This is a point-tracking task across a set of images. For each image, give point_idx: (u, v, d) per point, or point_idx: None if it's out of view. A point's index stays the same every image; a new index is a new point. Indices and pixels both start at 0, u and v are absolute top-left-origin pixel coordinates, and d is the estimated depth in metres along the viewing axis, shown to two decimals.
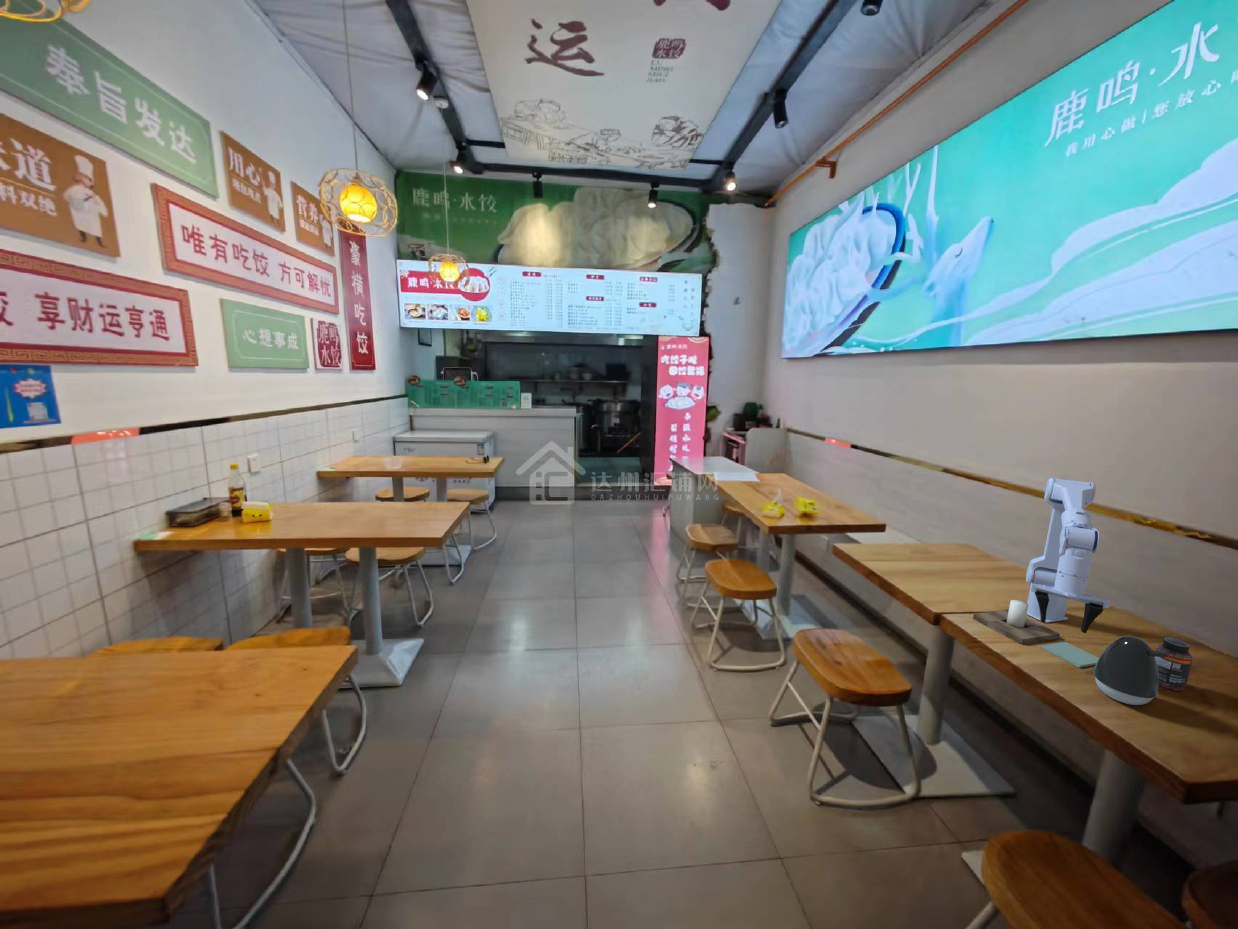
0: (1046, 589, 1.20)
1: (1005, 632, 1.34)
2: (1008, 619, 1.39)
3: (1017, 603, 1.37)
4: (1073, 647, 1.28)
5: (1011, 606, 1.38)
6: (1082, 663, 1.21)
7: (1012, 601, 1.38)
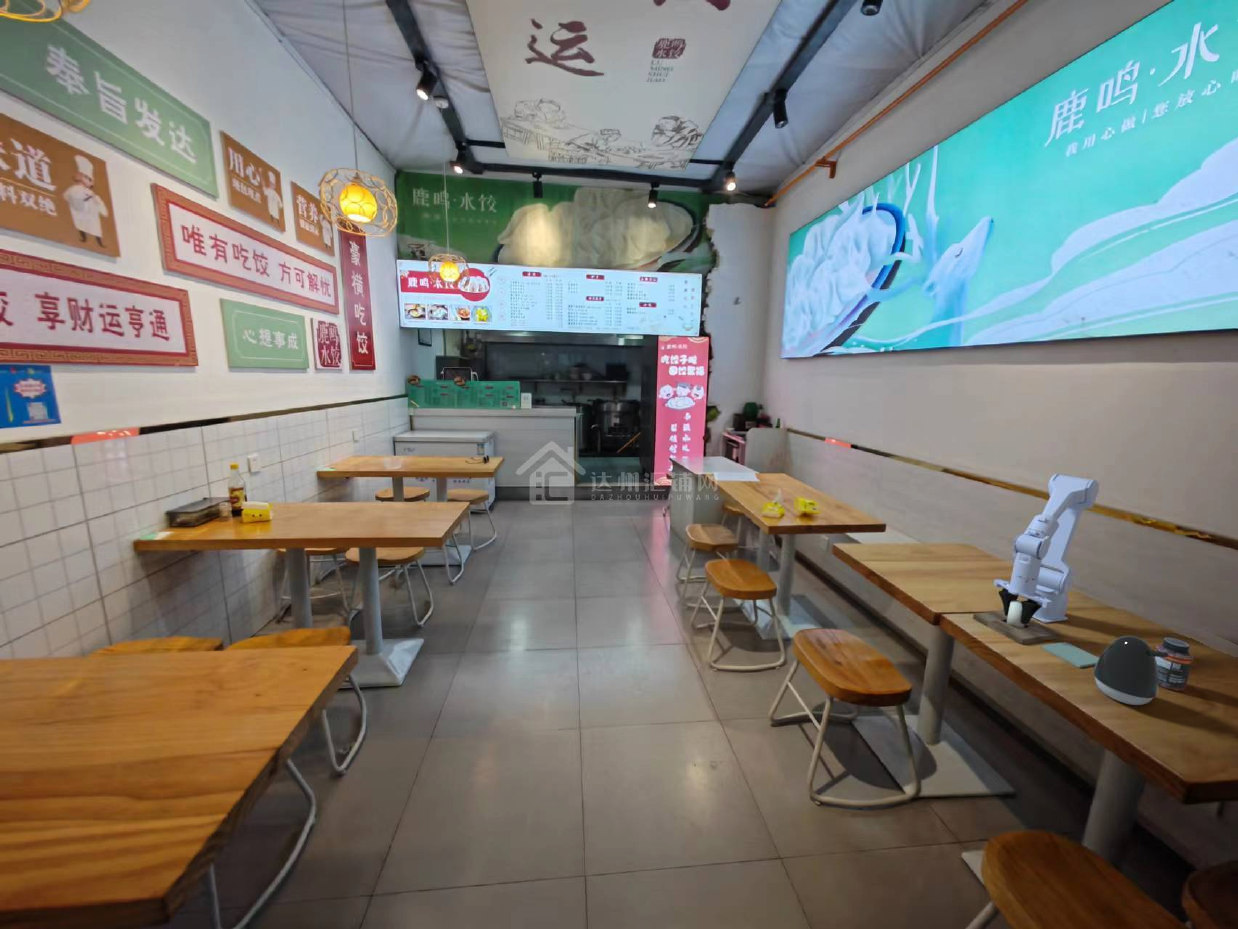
0: (1002, 585, 1.40)
1: (1005, 632, 1.34)
2: (1008, 619, 1.39)
3: (1017, 603, 1.37)
4: (1073, 647, 1.28)
5: (1010, 606, 1.38)
6: (1082, 663, 1.21)
7: (1012, 601, 1.38)
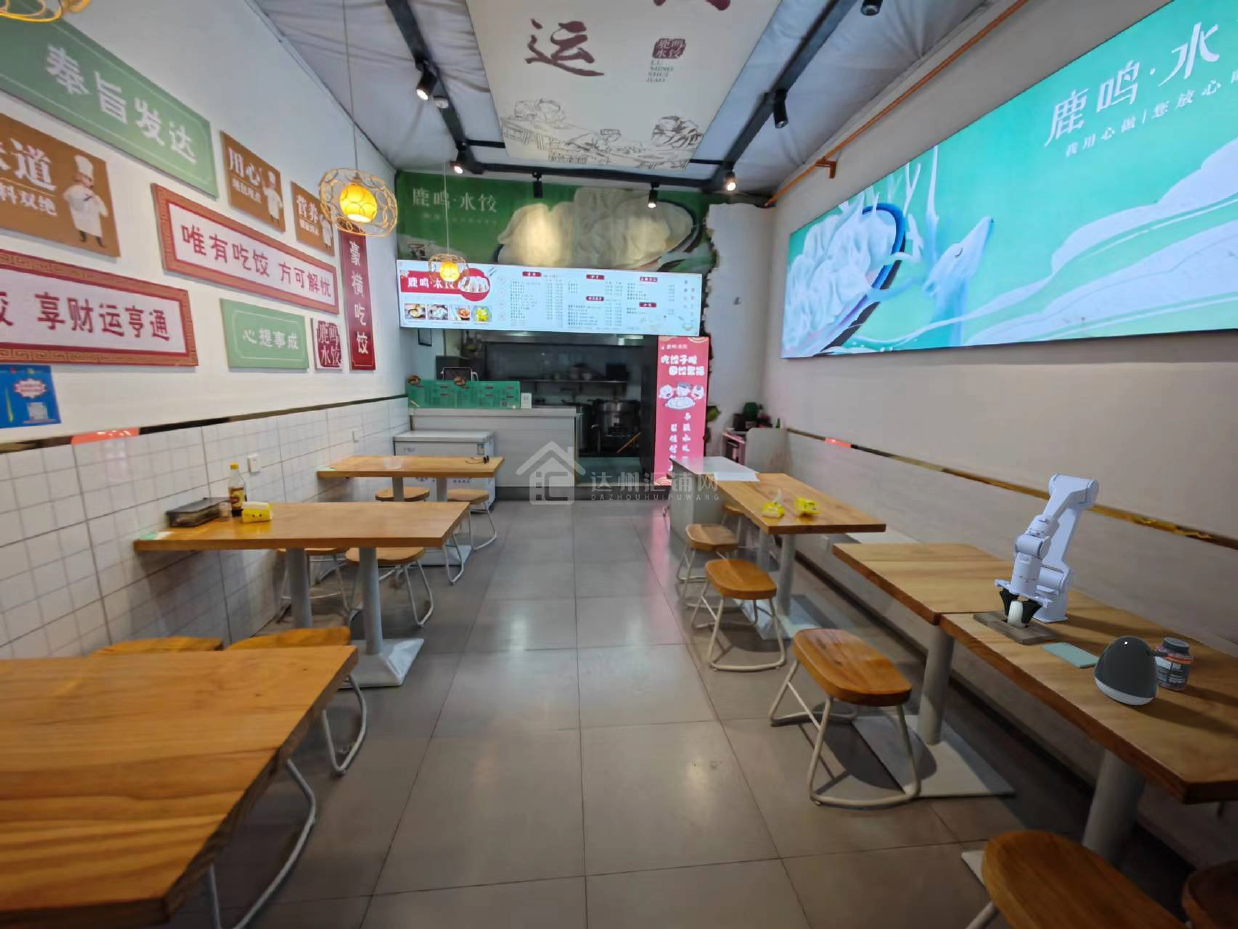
0: (1002, 585, 1.40)
1: (1005, 632, 1.34)
2: (1009, 619, 1.39)
3: (1017, 603, 1.37)
4: (1073, 647, 1.28)
5: (1011, 605, 1.38)
6: (1082, 663, 1.21)
7: (1013, 601, 1.38)
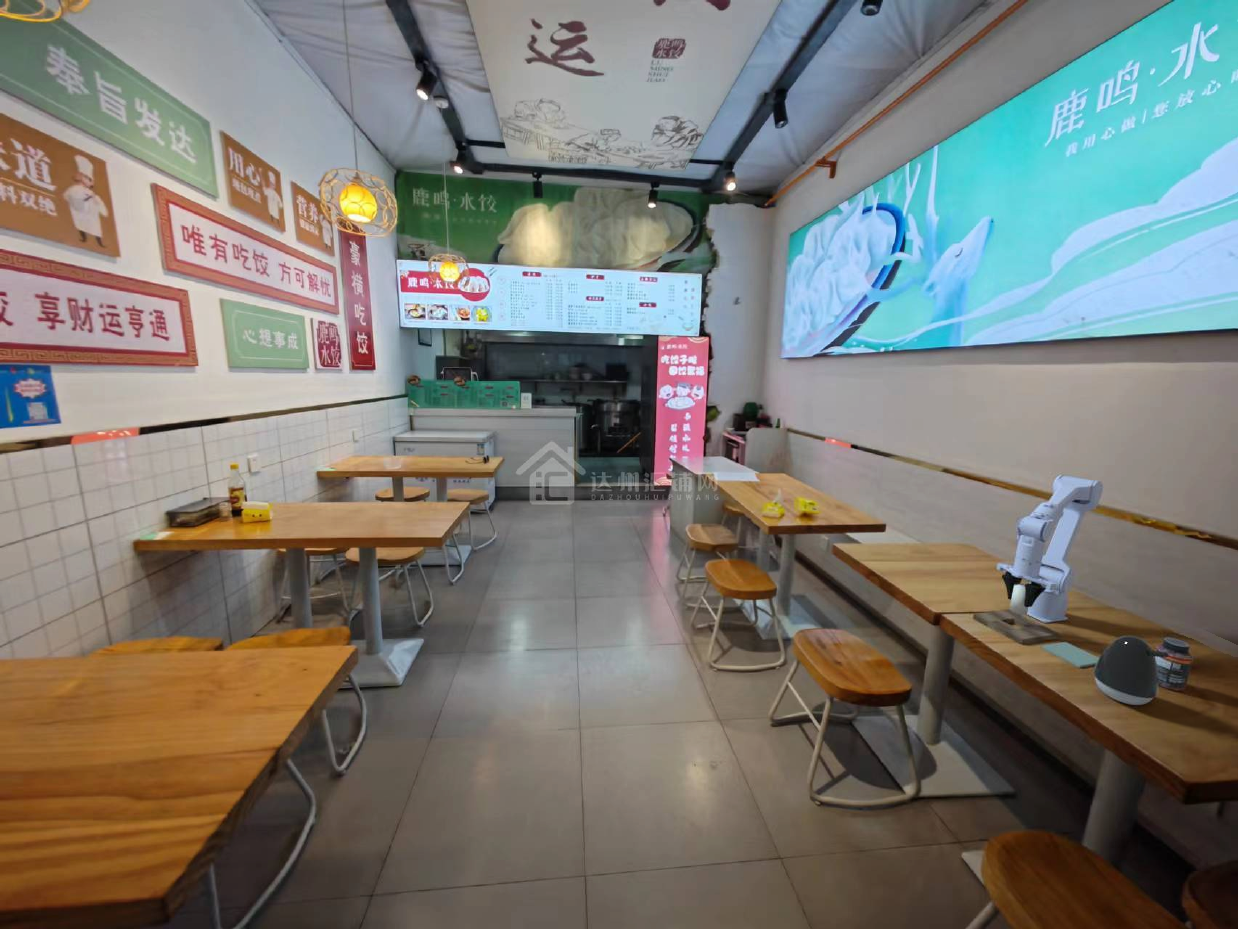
0: (1005, 568, 1.39)
1: (1005, 632, 1.34)
2: (1012, 602, 1.38)
3: (1020, 586, 1.36)
4: (1073, 647, 1.28)
5: (1014, 589, 1.37)
6: (1082, 663, 1.21)
7: (1015, 584, 1.37)
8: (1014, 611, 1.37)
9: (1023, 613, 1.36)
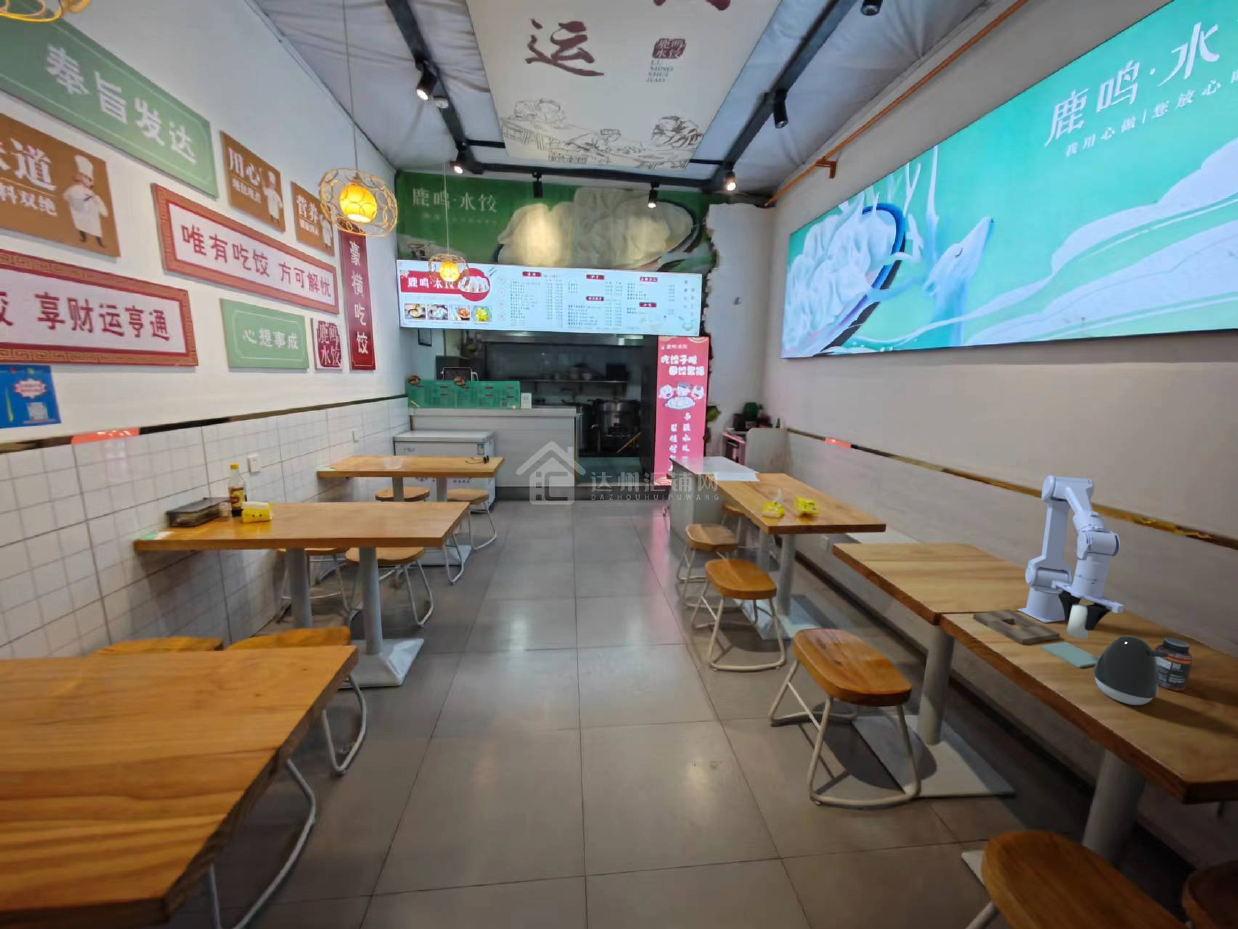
0: (1062, 587, 1.26)
1: (1005, 632, 1.34)
2: (1070, 625, 1.24)
3: (1080, 607, 1.23)
4: (1073, 647, 1.28)
5: (1073, 610, 1.24)
6: (1082, 663, 1.21)
7: (1074, 605, 1.24)
8: (1072, 634, 1.24)
9: (1083, 637, 1.23)
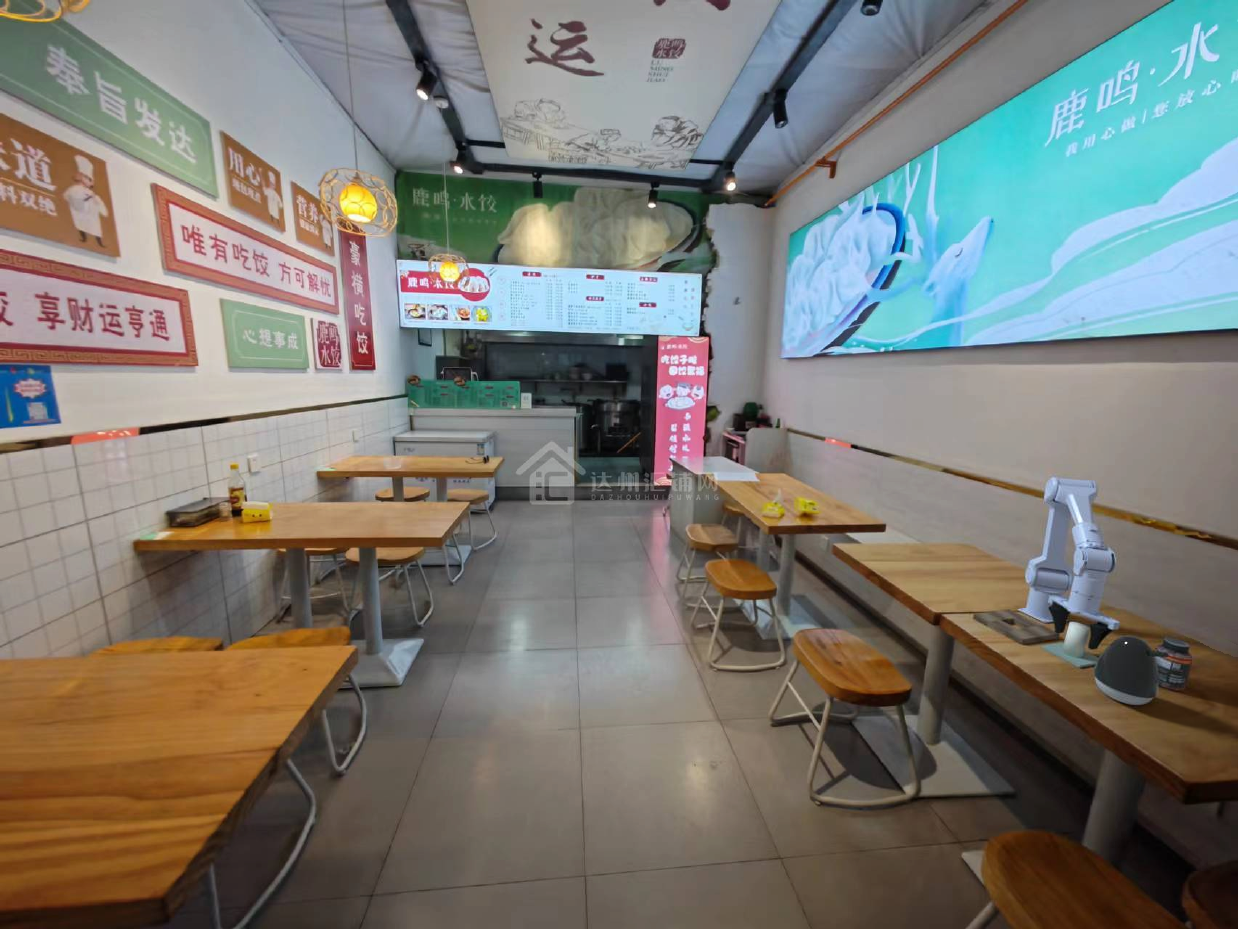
0: (1058, 602, 1.27)
1: (1005, 632, 1.34)
2: (1066, 643, 1.25)
3: (1077, 626, 1.24)
4: None
5: (1069, 628, 1.25)
6: (1082, 663, 1.21)
7: (1071, 623, 1.25)
8: (1068, 652, 1.25)
9: (1079, 655, 1.24)
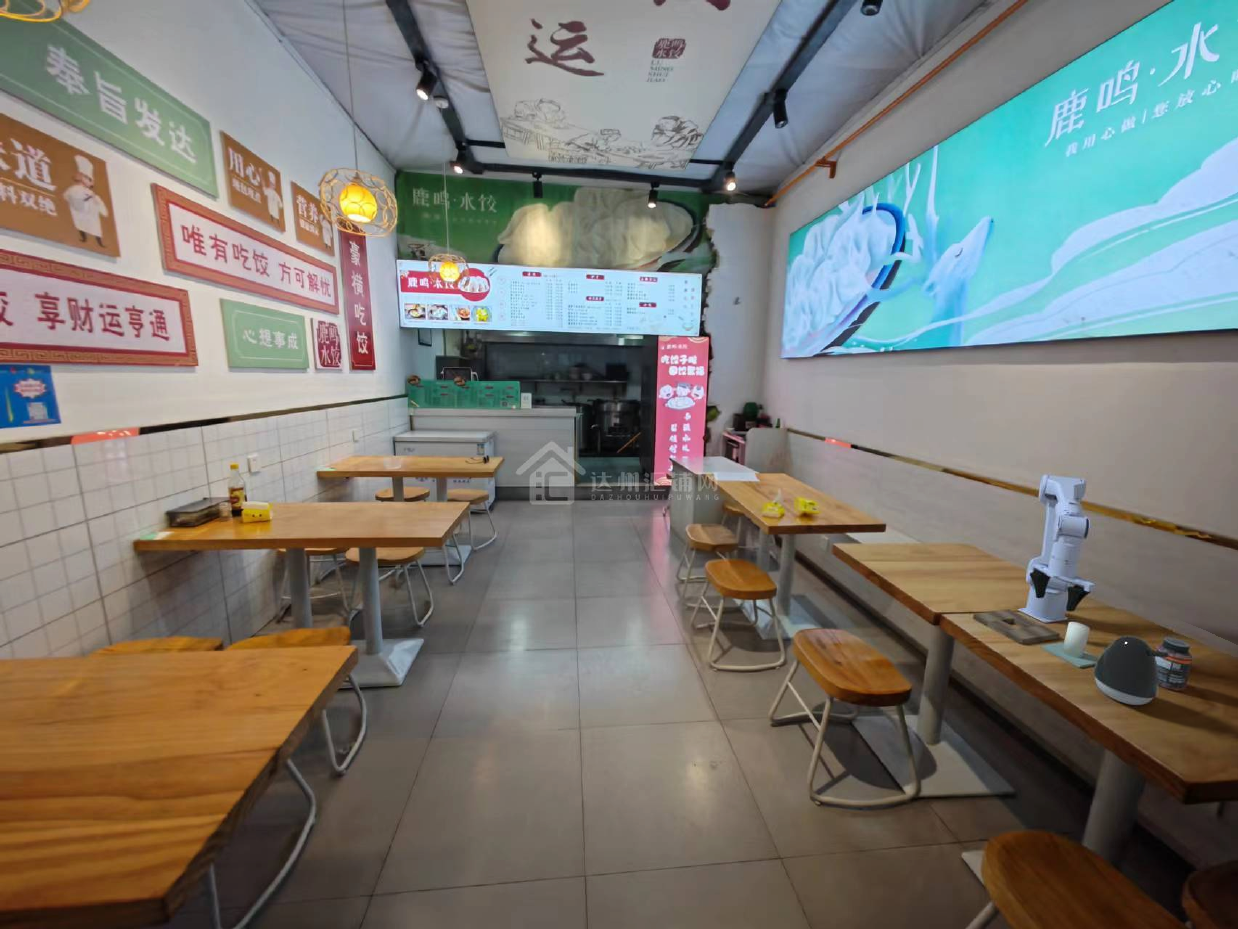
0: (1039, 568, 1.34)
1: (1005, 632, 1.34)
2: (1066, 643, 1.25)
3: (1076, 626, 1.24)
4: None
5: (1069, 628, 1.25)
6: (1082, 663, 1.21)
7: (1071, 623, 1.25)
8: (1068, 653, 1.25)
9: (1079, 655, 1.24)
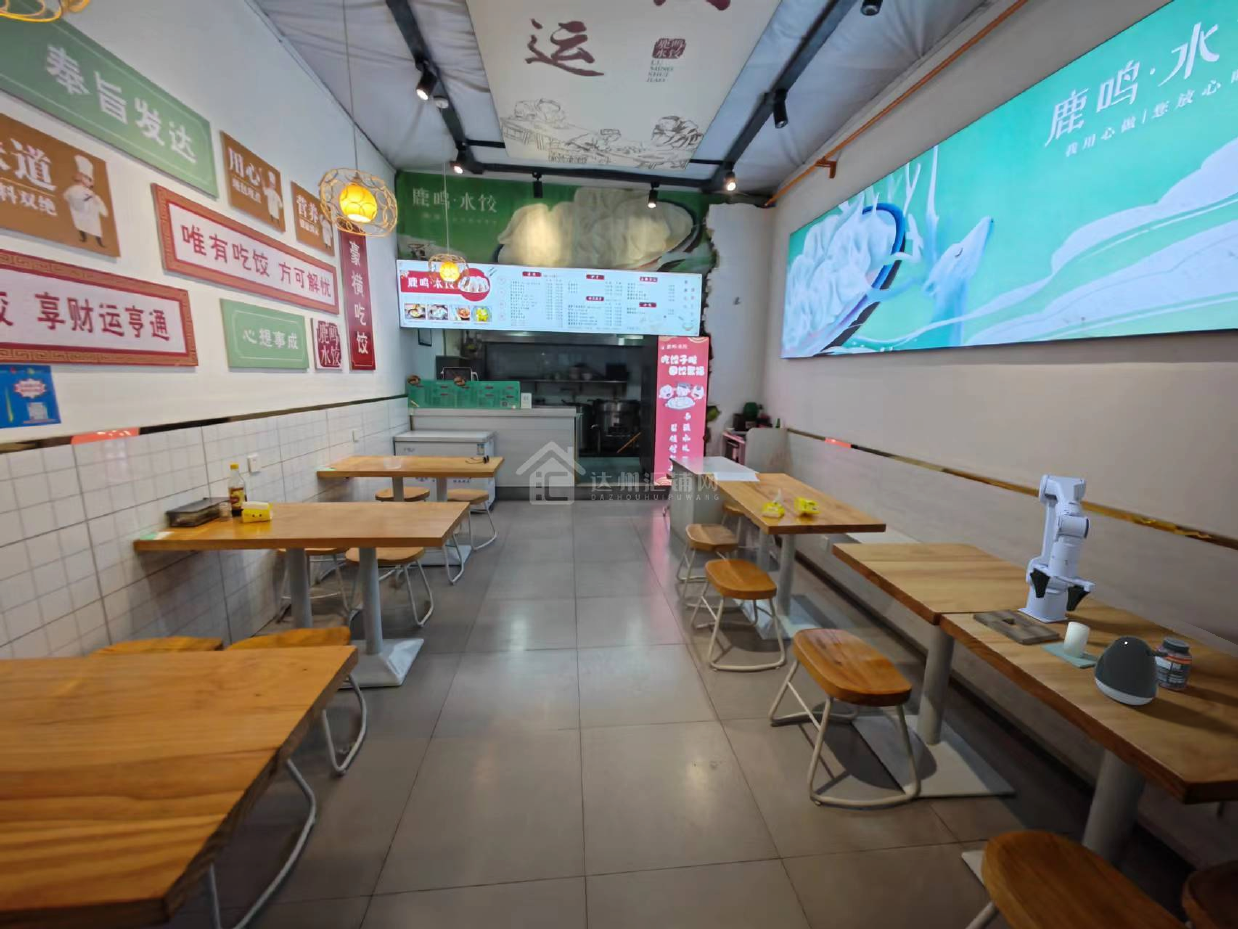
0: (1039, 568, 1.34)
1: (1005, 632, 1.34)
2: (1066, 643, 1.25)
3: (1076, 626, 1.24)
4: None
5: (1069, 628, 1.25)
6: (1082, 663, 1.21)
7: (1071, 623, 1.25)
8: (1068, 652, 1.25)
9: (1078, 655, 1.24)
